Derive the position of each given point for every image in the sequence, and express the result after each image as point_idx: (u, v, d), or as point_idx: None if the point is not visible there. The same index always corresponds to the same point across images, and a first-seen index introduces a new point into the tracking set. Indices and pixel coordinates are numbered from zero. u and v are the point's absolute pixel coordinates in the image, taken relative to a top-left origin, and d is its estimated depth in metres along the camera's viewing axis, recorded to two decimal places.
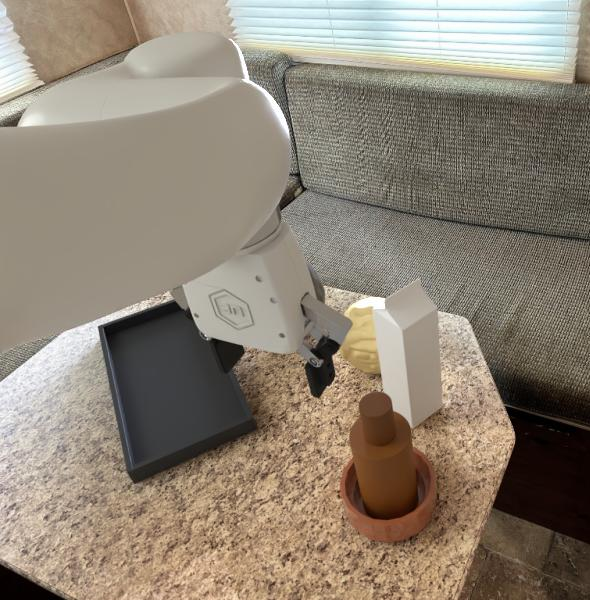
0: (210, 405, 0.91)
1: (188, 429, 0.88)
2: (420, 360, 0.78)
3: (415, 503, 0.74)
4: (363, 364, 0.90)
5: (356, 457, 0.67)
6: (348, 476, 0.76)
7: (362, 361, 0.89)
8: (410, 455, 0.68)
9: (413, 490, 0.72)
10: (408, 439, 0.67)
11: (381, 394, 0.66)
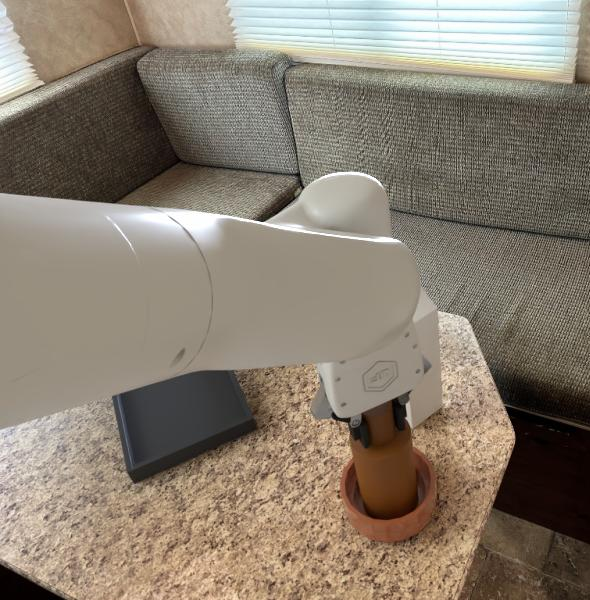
0: (210, 405, 0.91)
1: (188, 429, 0.88)
2: None
3: (415, 503, 0.74)
4: None
5: (356, 457, 0.67)
6: (348, 476, 0.76)
7: None
8: (410, 455, 0.68)
9: (413, 490, 0.72)
10: (408, 439, 0.67)
11: None
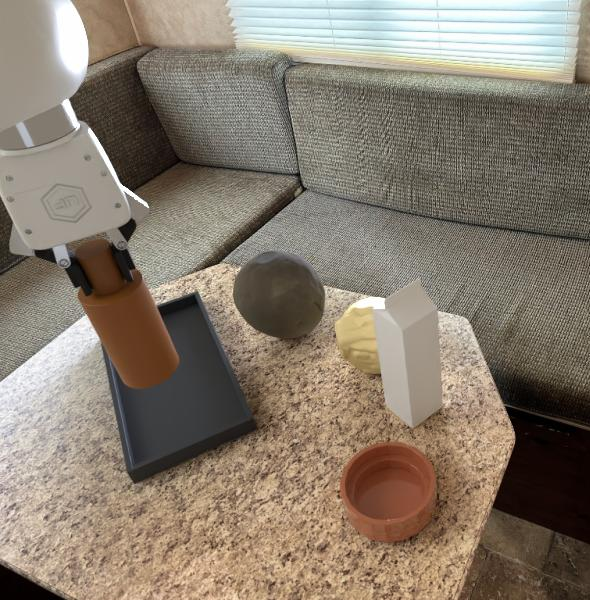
0: (210, 405, 0.91)
1: (188, 429, 0.88)
2: (420, 360, 0.78)
3: (168, 369, 0.73)
4: (363, 364, 0.90)
5: (83, 308, 0.66)
6: (348, 476, 0.76)
7: (362, 361, 0.89)
8: (143, 309, 0.67)
9: (160, 352, 0.71)
10: (135, 289, 0.66)
11: (102, 241, 0.65)
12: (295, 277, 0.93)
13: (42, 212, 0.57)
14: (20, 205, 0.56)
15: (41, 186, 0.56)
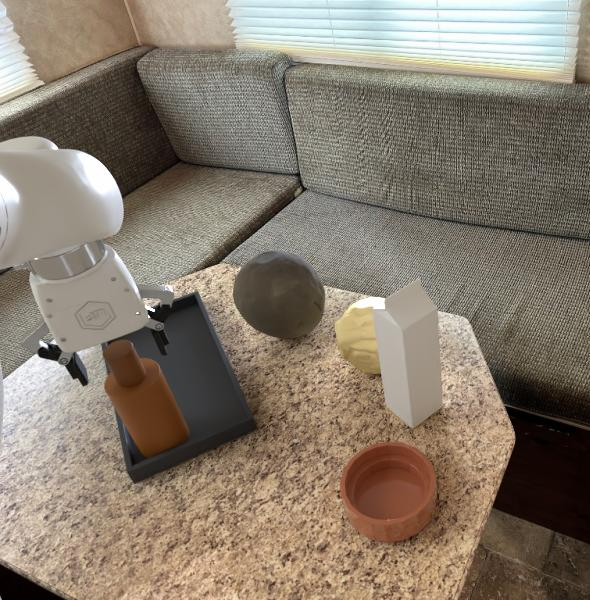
0: (210, 405, 0.91)
1: None
2: (420, 360, 0.78)
3: (181, 443, 0.84)
4: (363, 364, 0.90)
5: (109, 397, 0.77)
6: (348, 476, 0.76)
7: (362, 361, 0.89)
8: (160, 396, 0.79)
9: (174, 430, 0.83)
10: (153, 382, 0.77)
11: (126, 342, 0.76)
12: (295, 277, 0.93)
13: (75, 324, 0.68)
14: (57, 320, 0.67)
15: (75, 304, 0.66)
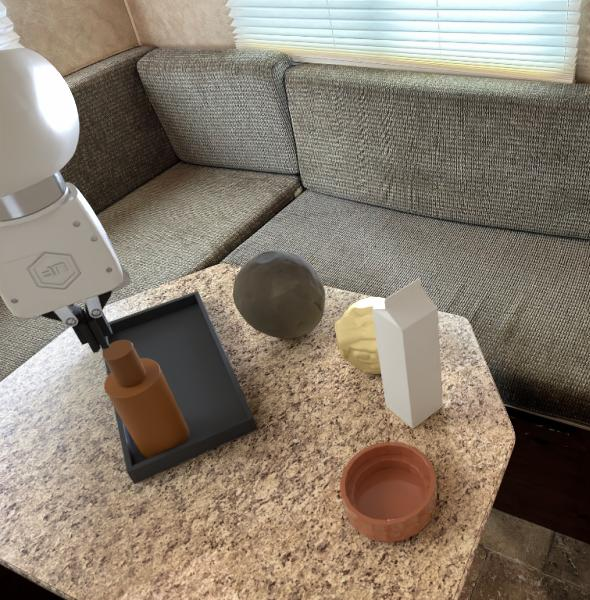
0: (210, 405, 0.91)
1: None
2: (420, 360, 0.78)
3: (181, 443, 0.84)
4: (363, 364, 0.90)
5: (109, 397, 0.77)
6: (348, 476, 0.76)
7: (362, 361, 0.89)
8: (160, 396, 0.79)
9: (174, 430, 0.83)
10: (153, 382, 0.77)
11: (126, 342, 0.76)
12: (295, 277, 0.93)
13: (29, 281, 0.54)
14: (5, 275, 0.53)
15: (27, 255, 0.53)
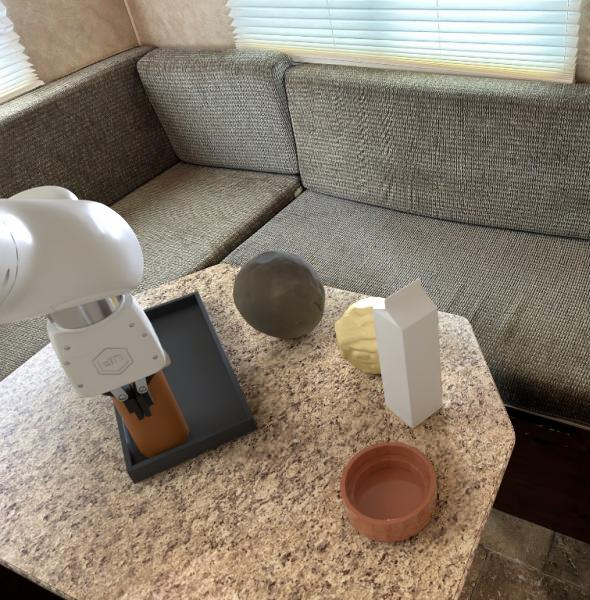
0: (210, 405, 0.91)
1: None
2: (420, 360, 0.78)
3: (180, 440, 0.84)
4: (363, 364, 0.90)
5: None
6: (348, 476, 0.76)
7: (362, 361, 0.89)
8: (158, 390, 0.79)
9: (173, 426, 0.83)
10: None
11: None
12: (295, 277, 0.93)
13: (92, 370, 0.67)
14: (74, 367, 0.66)
15: (92, 351, 0.66)
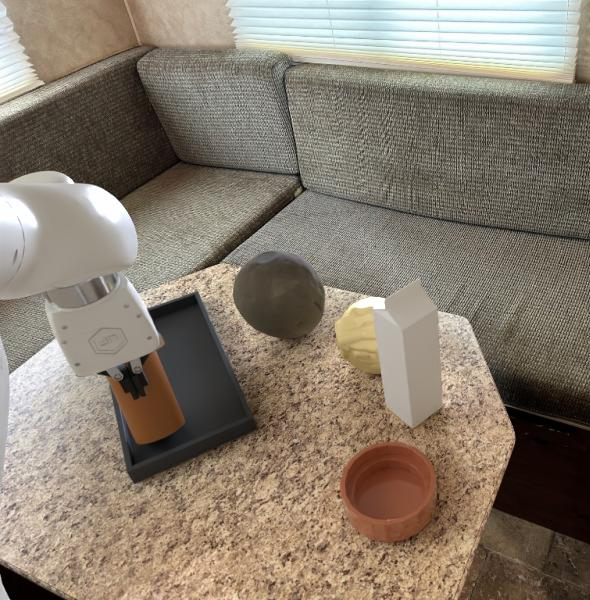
0: (210, 405, 0.91)
1: (188, 429, 0.88)
2: (420, 360, 0.78)
3: (173, 424, 0.83)
4: (363, 364, 0.90)
5: None
6: (348, 476, 0.76)
7: (362, 361, 0.89)
8: (148, 362, 0.81)
9: (165, 406, 0.83)
10: None
11: None
12: (295, 277, 0.93)
13: (89, 349, 0.70)
14: (72, 346, 0.69)
15: (89, 330, 0.69)
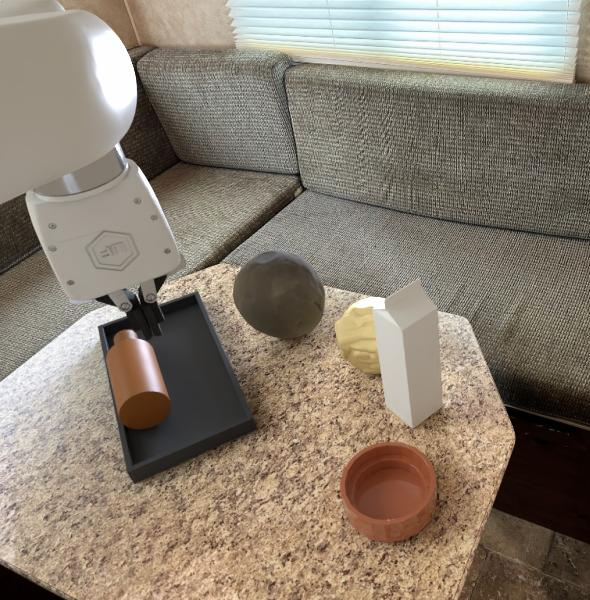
0: (210, 405, 0.91)
1: (188, 429, 0.88)
2: (420, 360, 0.78)
3: (144, 387, 0.85)
4: (363, 364, 0.90)
5: None
6: (348, 476, 0.76)
7: (362, 361, 0.89)
8: (135, 348, 0.92)
9: (140, 374, 0.87)
10: (134, 339, 0.94)
11: None
12: (295, 277, 0.93)
13: (86, 261, 0.51)
14: (63, 254, 0.50)
15: (86, 233, 0.50)
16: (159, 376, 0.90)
